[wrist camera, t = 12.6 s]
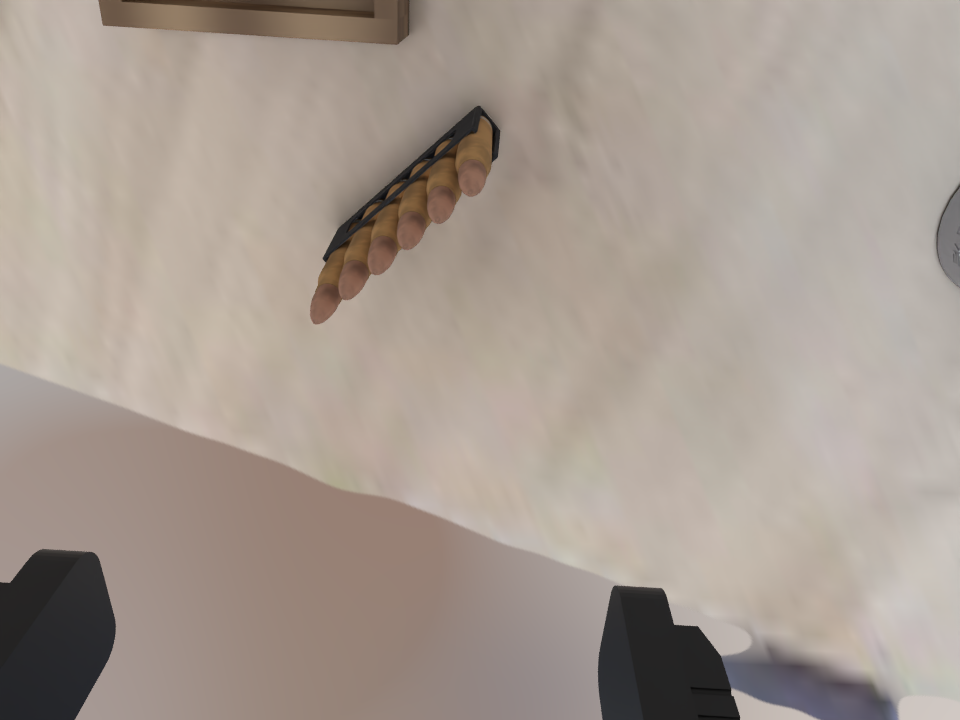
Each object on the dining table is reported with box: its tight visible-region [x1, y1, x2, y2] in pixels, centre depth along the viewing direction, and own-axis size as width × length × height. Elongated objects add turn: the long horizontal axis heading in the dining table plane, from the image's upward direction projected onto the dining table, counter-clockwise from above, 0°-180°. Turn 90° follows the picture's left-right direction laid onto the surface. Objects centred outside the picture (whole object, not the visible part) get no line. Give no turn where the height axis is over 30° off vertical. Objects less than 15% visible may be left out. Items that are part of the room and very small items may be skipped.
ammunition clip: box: [310, 106, 500, 324], centre depth 35 cm, size 11×2×12 cm, turn 130°
